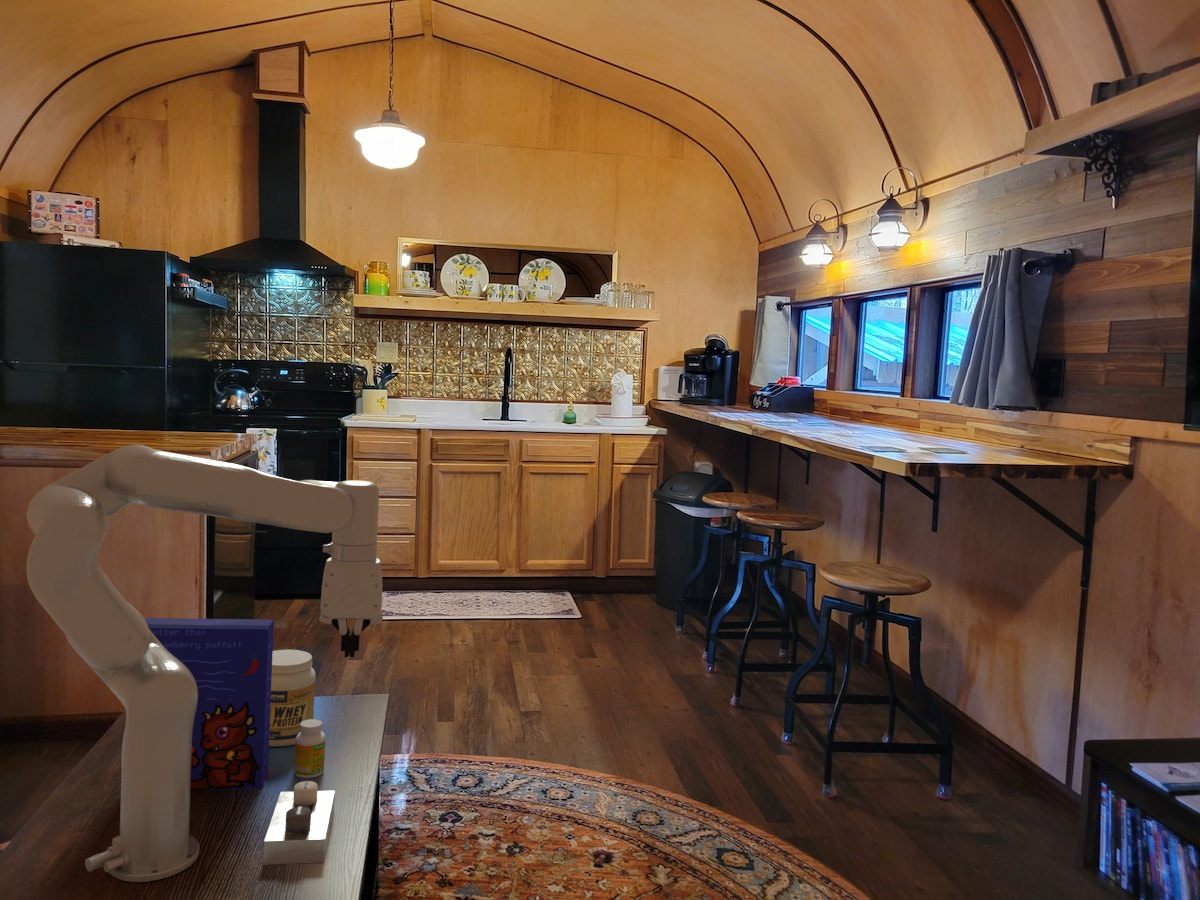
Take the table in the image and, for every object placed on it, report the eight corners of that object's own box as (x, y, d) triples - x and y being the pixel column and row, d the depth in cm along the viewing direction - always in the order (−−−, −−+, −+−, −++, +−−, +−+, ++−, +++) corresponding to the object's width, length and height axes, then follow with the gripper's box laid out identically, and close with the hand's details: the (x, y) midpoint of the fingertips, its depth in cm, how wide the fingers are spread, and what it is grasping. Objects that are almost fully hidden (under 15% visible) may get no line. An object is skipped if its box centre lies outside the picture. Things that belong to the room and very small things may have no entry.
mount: (323, 862, 137) (324, 839, 136) (263, 864, 135) (264, 841, 134) (334, 811, 152) (334, 790, 152) (279, 813, 150) (280, 791, 150)
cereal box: (267, 773, 164) (273, 618, 162) (261, 788, 158) (268, 627, 156) (142, 776, 160) (146, 616, 157) (131, 792, 154) (136, 626, 152)
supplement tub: (255, 752, 173) (258, 669, 171) (246, 729, 183) (249, 650, 182) (319, 743, 179) (322, 662, 177) (306, 721, 189) (309, 645, 188)
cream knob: (314, 828, 146) (316, 790, 146) (290, 828, 146) (292, 791, 145) (317, 816, 150) (318, 780, 150) (294, 817, 149) (295, 780, 149)
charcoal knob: (307, 857, 138) (309, 817, 137) (282, 858, 137) (284, 818, 136) (310, 844, 141) (312, 805, 141) (286, 845, 141) (288, 806, 140)
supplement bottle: (314, 780, 163) (316, 730, 162) (288, 776, 164) (290, 726, 163) (329, 768, 168) (331, 719, 167) (303, 764, 169) (305, 715, 168)
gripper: (306, 555, 146) (302, 662, 148) (397, 557, 149) (392, 662, 151) (312, 546, 153) (308, 648, 155) (398, 548, 156) (394, 648, 158)
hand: (349, 654), depth 153 cm, fingers closed
